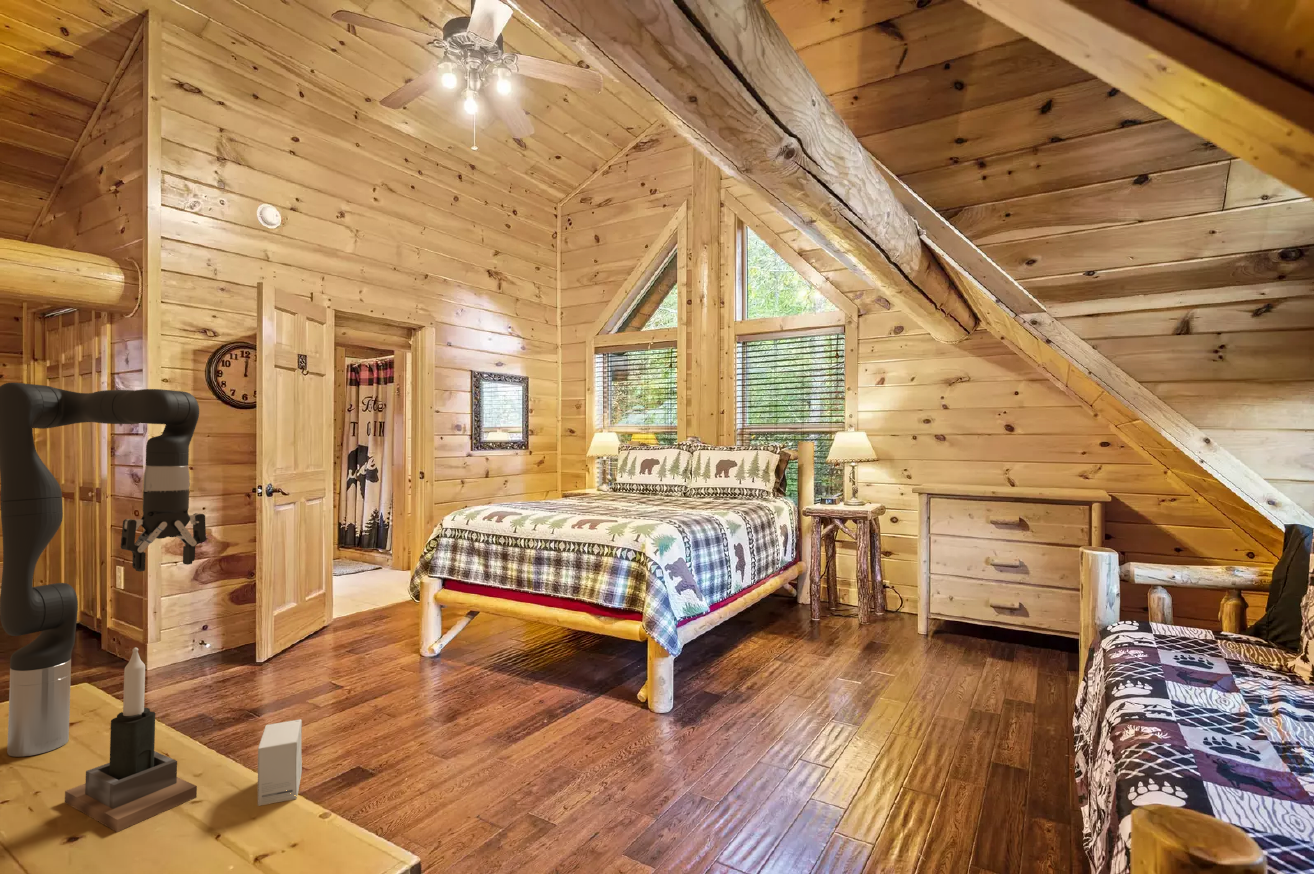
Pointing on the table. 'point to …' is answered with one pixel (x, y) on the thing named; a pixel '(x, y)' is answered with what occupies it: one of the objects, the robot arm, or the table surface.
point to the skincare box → (279, 762)
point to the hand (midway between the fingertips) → (164, 567)
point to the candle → (132, 726)
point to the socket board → (131, 794)
